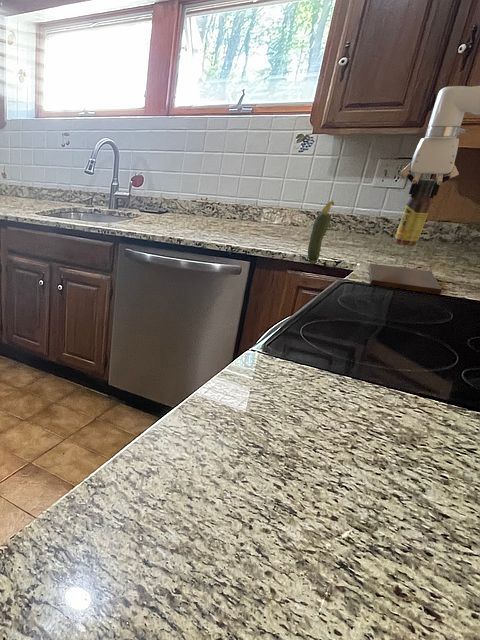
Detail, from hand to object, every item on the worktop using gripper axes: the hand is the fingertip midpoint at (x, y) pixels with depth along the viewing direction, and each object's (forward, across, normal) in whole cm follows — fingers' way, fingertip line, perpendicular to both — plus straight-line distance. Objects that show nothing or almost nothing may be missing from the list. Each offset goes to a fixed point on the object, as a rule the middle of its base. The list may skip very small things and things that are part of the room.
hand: (421, 196), depth 162 cm
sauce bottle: (+15, 0, 0) cm, 15 cm away
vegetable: (+22, +25, +13) cm, 35 cm away
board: (+22, +1, +21) cm, 30 cm away
